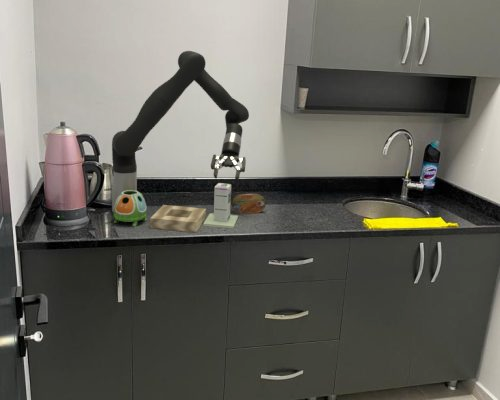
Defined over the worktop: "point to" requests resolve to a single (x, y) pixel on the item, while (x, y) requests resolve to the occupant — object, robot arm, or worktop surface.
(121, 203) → the turtle holder
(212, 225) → the mat
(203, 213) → the socket block
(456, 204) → the worktop surface
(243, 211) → the tin
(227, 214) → the syrup box
